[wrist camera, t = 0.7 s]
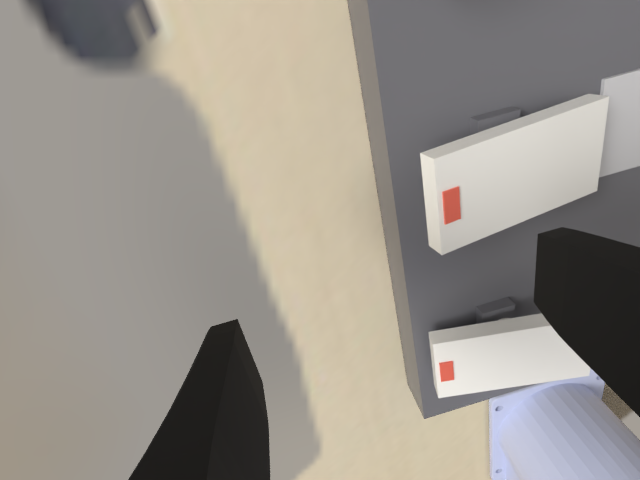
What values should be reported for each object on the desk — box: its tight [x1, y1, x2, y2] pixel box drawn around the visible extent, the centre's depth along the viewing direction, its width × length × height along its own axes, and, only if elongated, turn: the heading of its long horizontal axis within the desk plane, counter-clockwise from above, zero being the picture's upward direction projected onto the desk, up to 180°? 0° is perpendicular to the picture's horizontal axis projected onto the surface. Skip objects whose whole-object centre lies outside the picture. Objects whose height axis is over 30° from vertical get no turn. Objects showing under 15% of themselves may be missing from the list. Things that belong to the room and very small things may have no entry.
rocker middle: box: [420, 94, 609, 255], centre depth 15 cm, size 4×7×1 cm, turn 102°
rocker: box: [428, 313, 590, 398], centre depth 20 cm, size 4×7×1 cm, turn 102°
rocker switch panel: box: [347, 0, 640, 419], centre depth 17 cm, size 28×12×3 cm, turn 12°
